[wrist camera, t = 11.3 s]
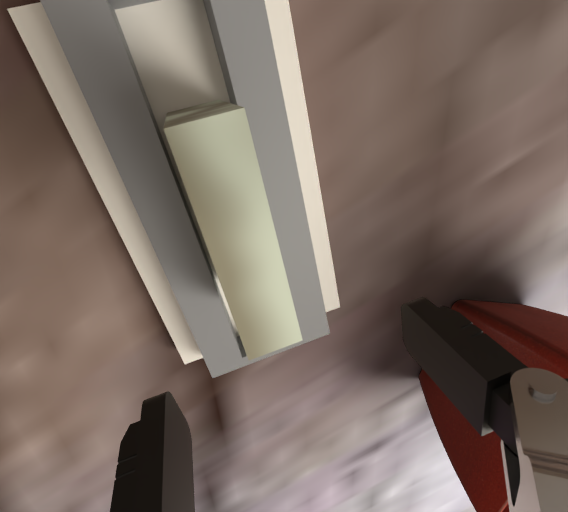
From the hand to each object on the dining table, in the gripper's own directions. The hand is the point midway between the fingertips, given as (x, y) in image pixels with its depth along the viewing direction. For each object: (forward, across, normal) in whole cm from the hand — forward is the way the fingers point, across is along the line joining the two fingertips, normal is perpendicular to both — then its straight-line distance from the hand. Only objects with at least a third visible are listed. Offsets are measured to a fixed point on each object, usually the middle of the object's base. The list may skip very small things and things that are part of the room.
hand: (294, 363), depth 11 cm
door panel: (+18, 0, 0) cm, 18 cm away
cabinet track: (+20, 0, 0) cm, 20 cm away
